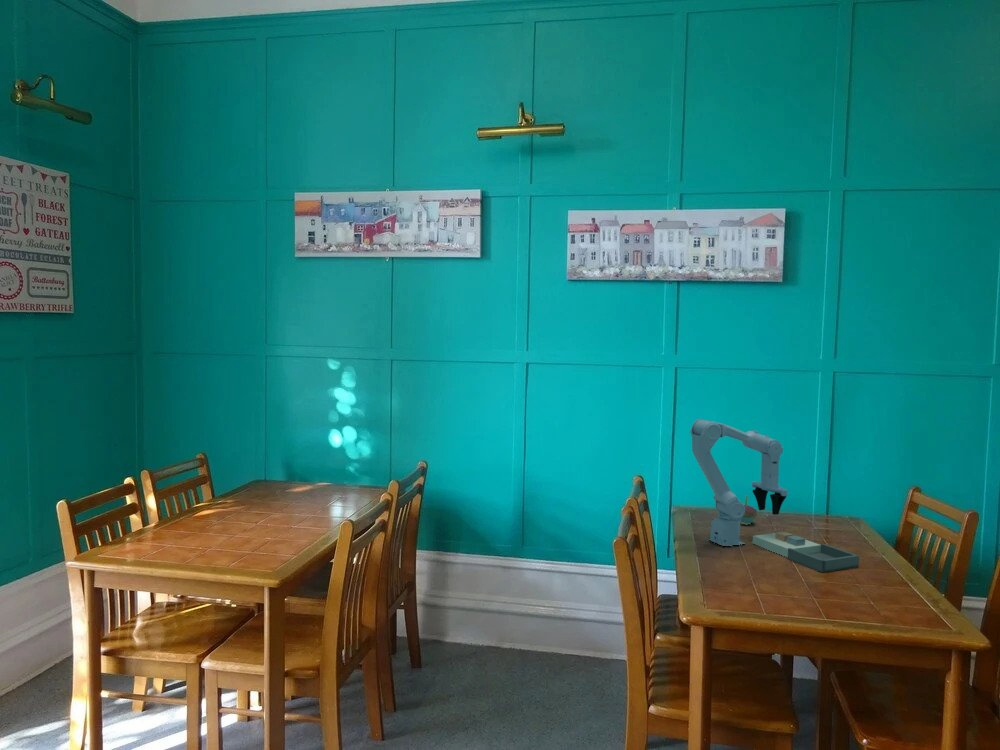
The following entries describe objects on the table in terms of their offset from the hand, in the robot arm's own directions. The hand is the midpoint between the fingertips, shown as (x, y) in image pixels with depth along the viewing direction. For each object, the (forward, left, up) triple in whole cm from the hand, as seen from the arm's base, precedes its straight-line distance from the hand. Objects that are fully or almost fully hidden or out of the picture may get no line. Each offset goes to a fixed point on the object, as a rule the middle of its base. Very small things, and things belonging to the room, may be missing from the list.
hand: (768, 512), depth 246 cm
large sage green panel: (0, -9, -10) cm, 14 cm away
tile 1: (0, -8, -7) cm, 11 cm away
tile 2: (0, -13, -7) cm, 15 cm away
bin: (0, -24, -10) cm, 26 cm away
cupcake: (+10, +21, -11) cm, 25 cm away
